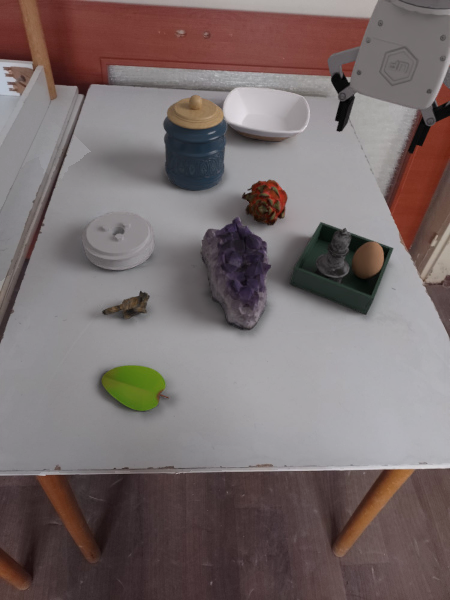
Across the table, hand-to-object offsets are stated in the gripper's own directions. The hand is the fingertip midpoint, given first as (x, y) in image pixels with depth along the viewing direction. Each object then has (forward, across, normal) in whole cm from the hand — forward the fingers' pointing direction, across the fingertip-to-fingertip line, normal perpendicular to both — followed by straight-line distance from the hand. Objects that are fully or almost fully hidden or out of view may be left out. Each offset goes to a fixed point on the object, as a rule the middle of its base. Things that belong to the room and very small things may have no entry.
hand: (376, 137), depth 60 cm
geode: (+28, -14, -9) cm, 33 cm away
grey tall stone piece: (+28, 0, 0) cm, 28 cm away
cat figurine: (+28, -26, -24) cm, 46 cm away
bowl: (+28, -32, +43) cm, 60 cm away
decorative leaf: (+28, -18, -35) cm, 48 cm away
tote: (+28, +2, +3) cm, 28 cm away
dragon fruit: (+28, -18, +11) cm, 35 cm away
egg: (+28, +5, +4) cm, 29 cm away
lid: (+28, -36, -12) cm, 48 cm away
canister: (+28, -36, +16) cm, 49 cm away
